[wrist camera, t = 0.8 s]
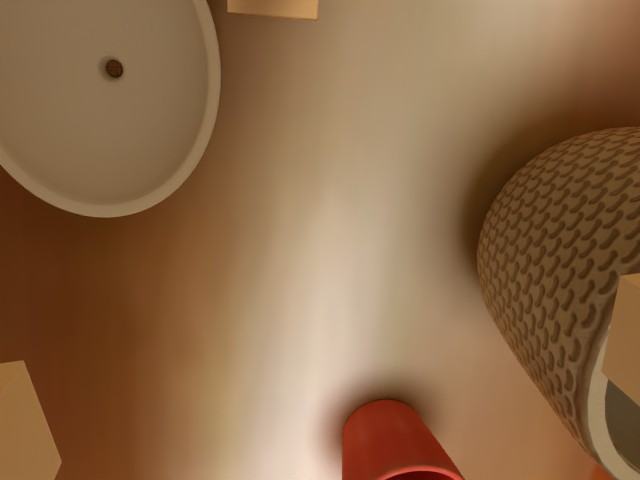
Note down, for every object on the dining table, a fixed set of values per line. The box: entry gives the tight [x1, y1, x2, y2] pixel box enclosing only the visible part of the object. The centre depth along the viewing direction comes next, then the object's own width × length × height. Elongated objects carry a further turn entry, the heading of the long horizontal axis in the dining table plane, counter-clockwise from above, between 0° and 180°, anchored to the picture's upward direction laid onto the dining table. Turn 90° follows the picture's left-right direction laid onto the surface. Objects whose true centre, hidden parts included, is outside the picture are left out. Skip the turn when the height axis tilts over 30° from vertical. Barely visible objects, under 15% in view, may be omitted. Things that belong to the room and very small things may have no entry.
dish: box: [0, 0, 221, 218], centre depth 29 cm, size 18×14×5 cm
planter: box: [477, 126, 640, 480], centre depth 31 cm, size 20×20×19 cm
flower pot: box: [342, 399, 465, 480], centre depth 42 cm, size 11×11×10 cm
